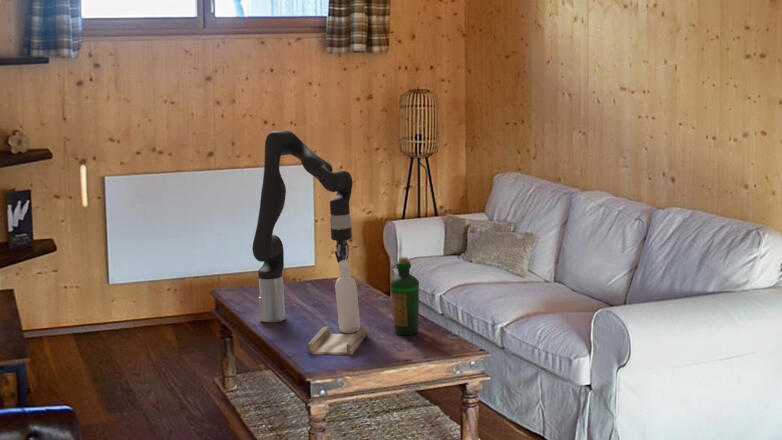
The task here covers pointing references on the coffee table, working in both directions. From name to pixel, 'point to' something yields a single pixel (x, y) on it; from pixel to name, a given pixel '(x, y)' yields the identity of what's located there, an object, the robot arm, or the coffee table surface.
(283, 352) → the coffee table surface
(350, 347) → the cradle
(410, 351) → the coffee table surface
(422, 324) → the coffee table surface
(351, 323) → the bottle
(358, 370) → the coffee table surface
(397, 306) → the bottle
